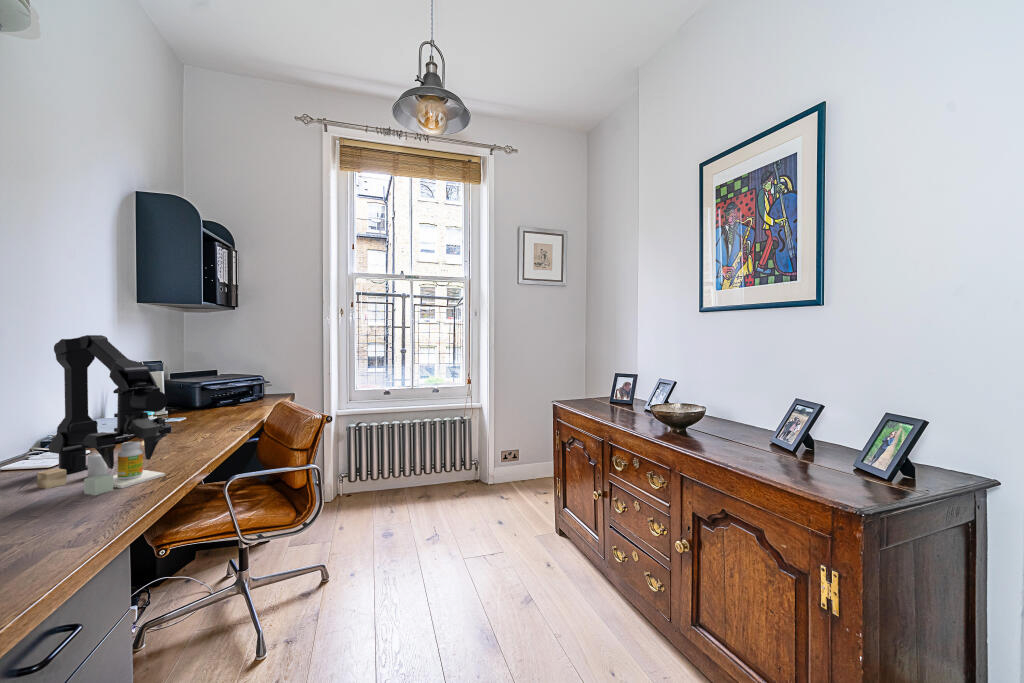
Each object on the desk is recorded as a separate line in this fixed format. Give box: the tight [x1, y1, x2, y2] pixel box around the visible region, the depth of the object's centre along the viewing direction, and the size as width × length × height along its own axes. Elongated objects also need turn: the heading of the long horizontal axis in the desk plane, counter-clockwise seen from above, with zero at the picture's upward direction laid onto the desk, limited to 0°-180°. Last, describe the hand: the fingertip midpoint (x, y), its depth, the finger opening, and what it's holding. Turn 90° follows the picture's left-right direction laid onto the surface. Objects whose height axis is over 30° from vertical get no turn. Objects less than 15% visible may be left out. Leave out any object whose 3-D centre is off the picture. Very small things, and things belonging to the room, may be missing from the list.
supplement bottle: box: [116, 440, 144, 479], centre depth 121 cm, size 5×5×10 cm
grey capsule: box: [87, 453, 108, 478], centre depth 123 cm, size 4×4×6 cm
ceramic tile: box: [113, 469, 166, 489], centre depth 121 cm, size 11×11×1 cm
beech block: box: [36, 467, 67, 490], centre depth 115 cm, size 4×4×4 cm
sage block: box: [83, 473, 114, 496], centre depth 111 cm, size 4×4×4 cm
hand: (130, 463), depth 121 cm, fingers open, 9 cm apart
